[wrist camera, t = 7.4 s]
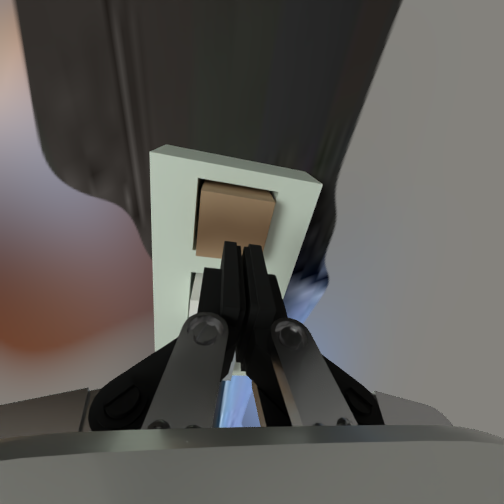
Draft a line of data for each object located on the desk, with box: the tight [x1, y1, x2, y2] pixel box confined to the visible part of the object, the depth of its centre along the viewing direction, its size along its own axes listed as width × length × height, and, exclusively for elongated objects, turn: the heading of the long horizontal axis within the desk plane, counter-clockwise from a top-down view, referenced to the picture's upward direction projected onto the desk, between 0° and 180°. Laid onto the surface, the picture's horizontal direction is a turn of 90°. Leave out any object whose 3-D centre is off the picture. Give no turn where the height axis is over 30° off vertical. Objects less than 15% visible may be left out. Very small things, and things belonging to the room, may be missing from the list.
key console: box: [150, 145, 323, 376], centre depth 23 cm, size 24×12×4 cm, turn 169°
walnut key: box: [196, 179, 275, 259], centre depth 18 cm, size 5×5×4 cm
